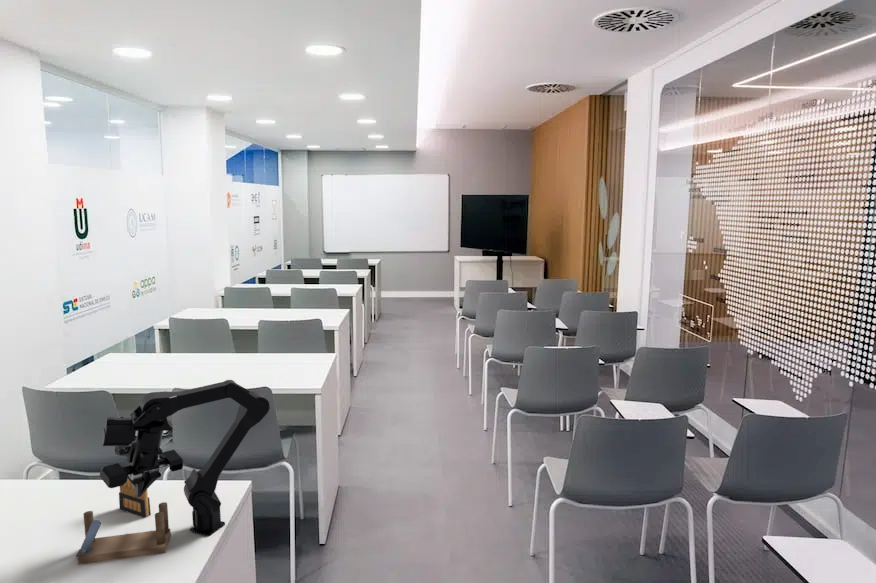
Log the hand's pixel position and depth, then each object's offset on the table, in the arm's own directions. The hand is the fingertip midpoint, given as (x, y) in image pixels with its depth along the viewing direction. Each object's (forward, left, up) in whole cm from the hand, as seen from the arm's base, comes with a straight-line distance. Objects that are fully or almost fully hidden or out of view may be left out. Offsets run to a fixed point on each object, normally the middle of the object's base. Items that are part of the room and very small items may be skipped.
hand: (138, 496), depth 152 cm
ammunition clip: (+12, -9, -12) cm, 19 cm away
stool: (-1, +6, -11) cm, 13 cm away
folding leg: (+4, +13, -9) cm, 16 cm away
